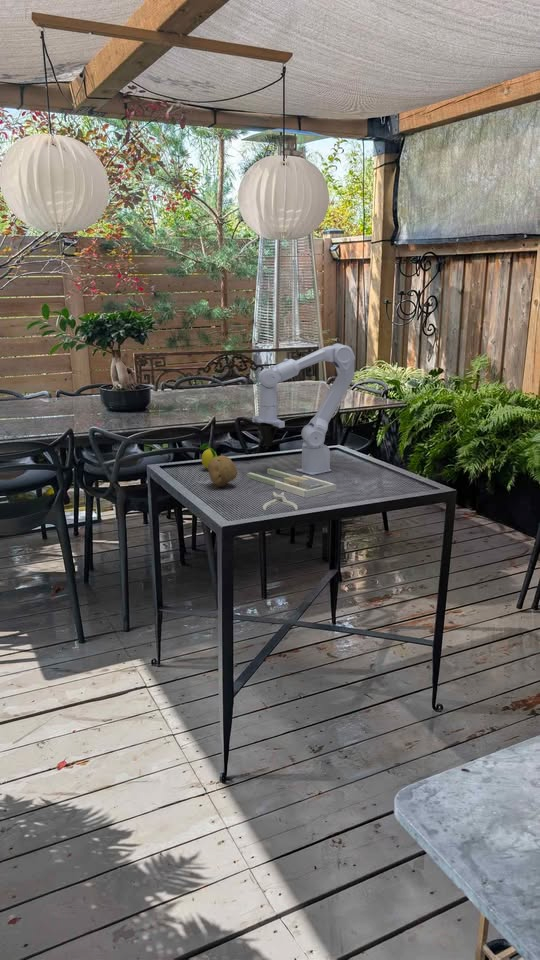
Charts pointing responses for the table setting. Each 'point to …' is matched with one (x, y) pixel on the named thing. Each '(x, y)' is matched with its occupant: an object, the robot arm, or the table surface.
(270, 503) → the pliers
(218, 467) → the brown potato
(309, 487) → the aluminium block
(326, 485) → the tray
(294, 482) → the ash block
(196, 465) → the table surface
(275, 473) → the slot rails
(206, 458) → the lemon
